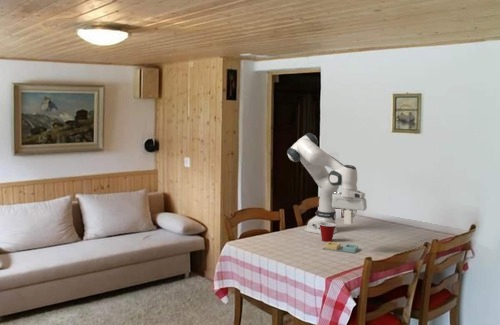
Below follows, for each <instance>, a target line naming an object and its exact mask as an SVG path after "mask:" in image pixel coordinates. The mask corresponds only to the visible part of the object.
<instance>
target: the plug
mask: <svg viewBox="0 0 500 325" xmlns="http://www.w3.org/2000/svg"><path fill="white" fill-rule="evenodd" d="M353 213H354V211H353V210H351V209H344V216H343V224H345V225H352V224H354V217H352V214H353Z"/></svg>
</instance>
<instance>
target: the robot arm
mask: <svg viewBox="0 0 500 325" xmlns="http://www.w3.org/2000/svg"><path fill="white" fill-rule="evenodd" d="M318 144H319V140H318V138H317V137H316V135H314V134H313V133H311V132H307V133H305V134H304V135H303V136H302V137H300V138H299V139H298V140H297V141H296V142H294V143H293V144H292V146H290V147H289V148H288V149H287V150H286V151H287V152H286V154H287V156H288V158H289V160H290V161H292V162H294V163H298V162H301V164H302V165H303V167H304V168H305V169H306V170H307V172H308V173H309V175H310V176H311V177H312V179H313V181H314V182H315V184H317V186H318V187H319V188H320V190H321V192H320V196H319V198H318V209H317V210H316V211H315V216H313V217H312V218H311V219H309V220H308V222H307V225H306V226H305V227H304V228H303V231H304V232H309V233H313V234H314V233H315V234H320V235H321V229H320V224H319V223H320V222H328V223H333V224H336V219H337V212H336V209H340V211H341V213H342V217H344V210H346V209H351V210H353V214H352V217H353V218H355V217H356V214H357V211H361V212H362V211H363V212H364V211H366V210H367V209H368V208H367V199H366V193H365V192H363V191H361V190H358V185H357V183H358V170H357V168H356V166H354V165H351V164H343V163H342V162H340V161H339V160H337V159H336V158H335V156H334V157H333V156H332V155H331V154H329V153H327V152H325V151H324V150H323V149H322V148H321V147H319V146H318ZM327 168H329V169H331V171H330V172H329V171H328V170H327ZM340 186H341V192H338V190H339V188H340ZM336 225H337V224H336ZM335 233H338V230H337V226H336V227H335V229H334V234H335Z"/></svg>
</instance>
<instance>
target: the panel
mask: <svg viewBox="0 0 500 325" xmlns="http://www.w3.org/2000/svg"><path fill="white" fill-rule="evenodd" d="M322 250H324V251H332V252H338V253H339V252H340V253H346V254H353V255H356V254H357V253H358V252H359V251H360V250H361V248H359V245H356V244H351V243H346V244H345V245H341V242H335V241H331V242H325V244H324V247H323V248H322Z"/></svg>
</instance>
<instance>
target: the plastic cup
mask: <svg viewBox="0 0 500 325" xmlns="http://www.w3.org/2000/svg"><path fill="white" fill-rule="evenodd" d="M319 224H320V229H321V234H320V235H321V236H320V237H321V241H322V242H324V243H328V242H333V238H334V234H335V233H334V229H335V227H336V228H337V224H333V223H328V222H320V223H319Z"/></svg>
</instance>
